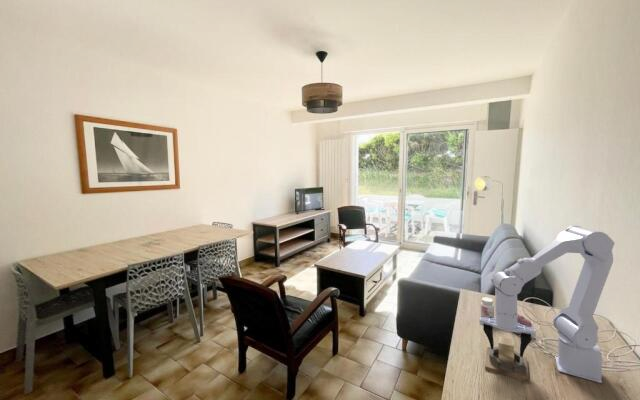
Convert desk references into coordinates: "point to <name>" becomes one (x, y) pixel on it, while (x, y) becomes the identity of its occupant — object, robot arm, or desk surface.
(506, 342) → the maple plug
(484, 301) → the pill bottle
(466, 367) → the desk surface
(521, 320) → the video game controller
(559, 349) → the robot arm
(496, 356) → the ring holder
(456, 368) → the desk surface
